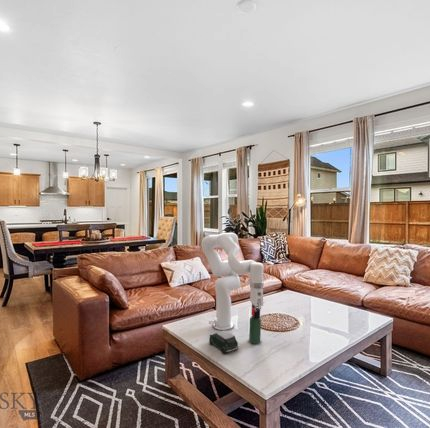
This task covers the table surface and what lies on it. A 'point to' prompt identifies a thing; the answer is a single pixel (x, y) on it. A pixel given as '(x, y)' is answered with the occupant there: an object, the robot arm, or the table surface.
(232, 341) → the miniature car
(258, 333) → the bottle
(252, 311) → the cap
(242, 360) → the table surface
